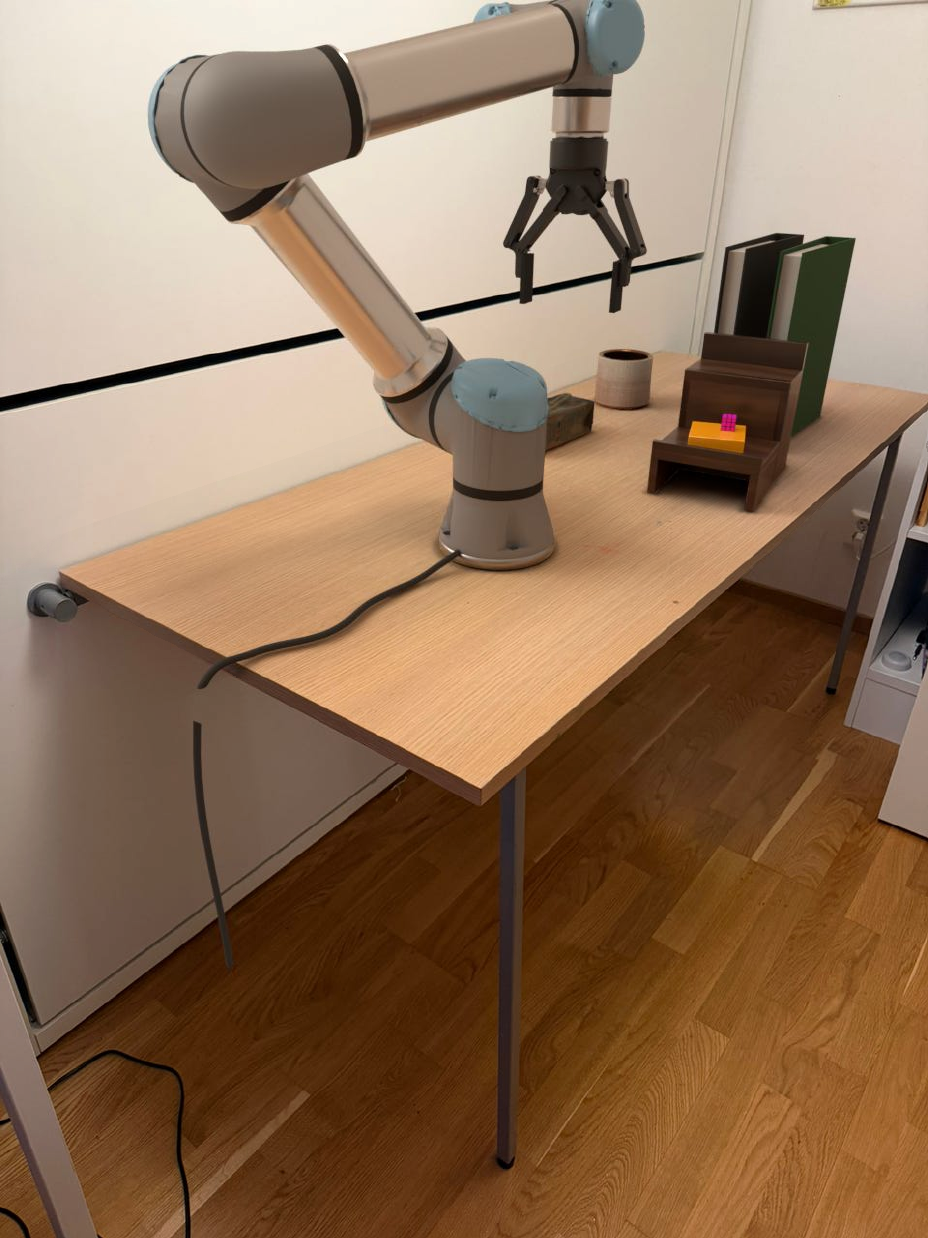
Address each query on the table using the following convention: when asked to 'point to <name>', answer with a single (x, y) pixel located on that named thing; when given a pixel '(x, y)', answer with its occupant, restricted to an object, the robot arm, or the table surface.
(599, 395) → the planter
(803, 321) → the books
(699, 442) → the orange slab
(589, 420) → the beverage carton
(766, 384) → the step shelf
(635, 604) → the table surface
